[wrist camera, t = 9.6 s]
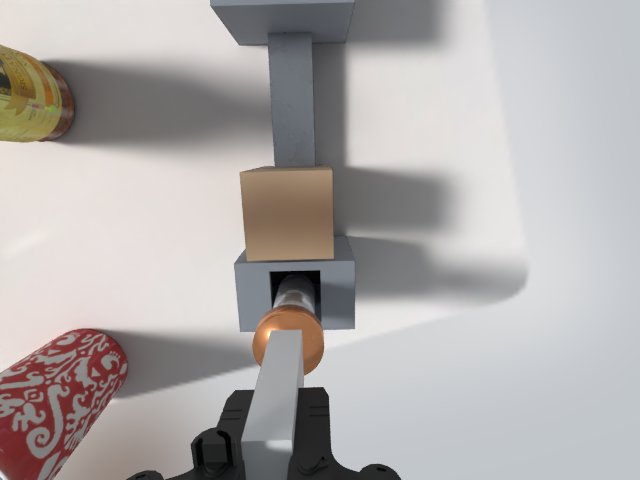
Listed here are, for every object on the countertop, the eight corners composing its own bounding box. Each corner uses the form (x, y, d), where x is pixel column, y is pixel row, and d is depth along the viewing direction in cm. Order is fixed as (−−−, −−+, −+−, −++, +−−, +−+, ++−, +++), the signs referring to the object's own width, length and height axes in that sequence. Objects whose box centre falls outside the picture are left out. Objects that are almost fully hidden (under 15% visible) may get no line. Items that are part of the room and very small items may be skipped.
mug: (135, 320, 31) (3, 440, 18) (143, 404, 33) (30, 565, 20) (-5, 314, 31) (-241, 432, 18) (12, 399, 33) (-187, 559, 20)
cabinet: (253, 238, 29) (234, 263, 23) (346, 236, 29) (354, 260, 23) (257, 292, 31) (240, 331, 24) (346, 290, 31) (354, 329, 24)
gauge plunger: (269, 268, 24) (249, 315, 17) (321, 266, 24) (323, 313, 17) (272, 315, 25) (254, 379, 18) (322, 314, 25) (324, 377, 18)
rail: (272, 44, 26) (267, 32, 23) (311, 43, 26) (311, 31, 23) (282, 237, 29) (279, 245, 27) (317, 236, 29) (317, 244, 27)
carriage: (264, 166, 27) (239, 172, 18) (327, 164, 27) (332, 169, 18) (268, 228, 28) (246, 260, 20) (328, 226, 28) (333, 258, 20)
